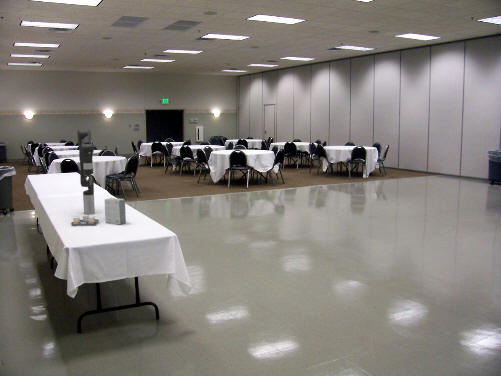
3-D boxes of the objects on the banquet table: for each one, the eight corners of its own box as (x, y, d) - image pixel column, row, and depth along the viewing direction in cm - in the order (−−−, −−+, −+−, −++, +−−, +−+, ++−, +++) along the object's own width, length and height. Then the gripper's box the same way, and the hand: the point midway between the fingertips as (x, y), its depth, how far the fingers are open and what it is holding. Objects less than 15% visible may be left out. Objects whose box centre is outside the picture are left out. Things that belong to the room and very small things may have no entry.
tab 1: (74, 222, 395) (74, 216, 395) (79, 222, 396) (79, 216, 395) (73, 223, 392) (73, 217, 391) (78, 223, 392) (78, 217, 391)
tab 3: (89, 222, 397) (89, 216, 396) (94, 222, 397) (94, 216, 396) (88, 223, 393) (88, 217, 392) (93, 223, 393) (93, 217, 392)
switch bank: (75, 222, 403) (75, 219, 403) (98, 222, 405) (98, 218, 404) (71, 226, 391) (71, 222, 390) (95, 225, 393) (95, 222, 392)
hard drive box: (126, 222, 402) (125, 199, 399) (120, 224, 396) (119, 200, 392) (111, 221, 409) (110, 197, 406) (105, 223, 402) (104, 199, 399)
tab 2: (84, 220, 402) (83, 214, 402) (89, 220, 403) (88, 214, 402) (83, 221, 398) (82, 215, 398) (88, 221, 399) (87, 215, 398)
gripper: (85, 167, 409) (86, 187, 412) (81, 169, 396) (82, 190, 399) (94, 167, 410) (95, 187, 412) (91, 169, 397) (92, 190, 399)
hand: (89, 189), depth 406 cm, fingers closed
